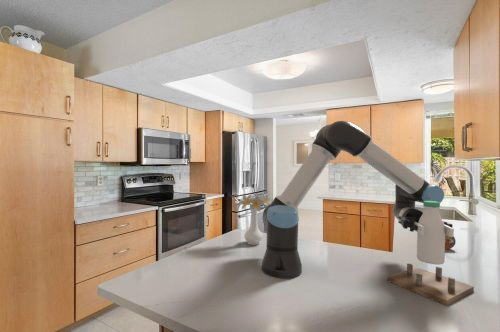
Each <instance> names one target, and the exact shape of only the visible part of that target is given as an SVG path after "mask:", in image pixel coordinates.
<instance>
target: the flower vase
mask: <svg viewBox="0 0 500 332" xmlns="http://www.w3.org/2000/svg"><path fill="white" fill-rule="evenodd" d="M234 199H235V201H234V204H235V205H236V206H237V207H236V211H237V212H239V210H240V207H241V209H242V210H243V209H245V207H246V206H249V210H250V225H249V228H247V231H245V233H244V236H243V237H244V239H245V240H246V241H247V244H249V246H250V245H252V246H255V245H260V244H261V243H260V242H261V241H263V238H264V235H263V233H262V231H261V230H260V229H259V227H258V212H260V211H261V206H263V205H264V206H266V207H267V206H268V205H269V204H271V203H272V200H271V198H268V195H267V193H266V192H265V193H264V194H263V193H262V194H258V193H257V192H254V193H253V194H252V193H250V194H249V195H247V196H246V195H245V194H242V200H238V198H236V197H234ZM241 205H242V206H241Z"/></svg>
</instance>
